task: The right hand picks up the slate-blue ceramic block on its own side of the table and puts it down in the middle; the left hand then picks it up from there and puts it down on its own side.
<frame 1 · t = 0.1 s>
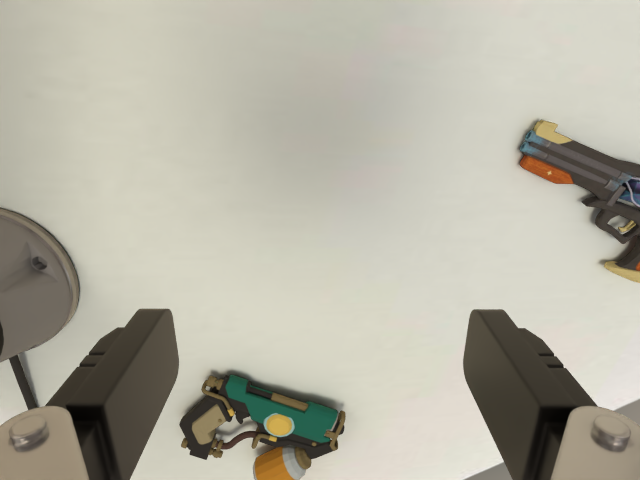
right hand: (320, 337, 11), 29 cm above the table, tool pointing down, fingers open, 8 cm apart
spray gun: (262, 416, 50), on the table
toy gun: (591, 204, 41), on the table
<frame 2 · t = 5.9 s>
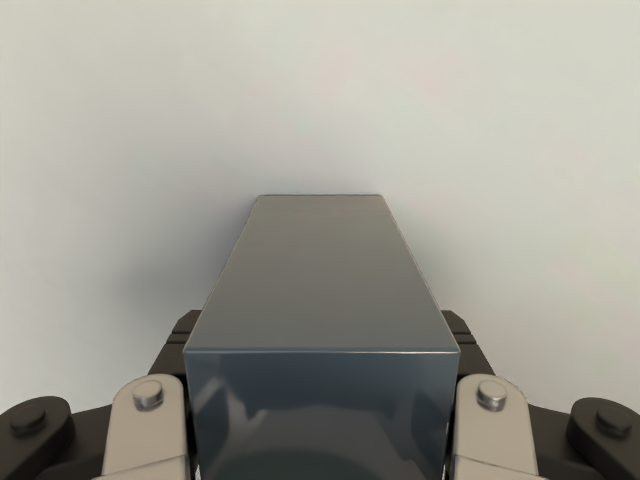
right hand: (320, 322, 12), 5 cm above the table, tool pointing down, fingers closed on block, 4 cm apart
block: (320, 253, 17), on the table, touching right hand
when the right hand's fingers open (7 cm above the table, at t = 13.6 s): block drops 2 cm, on the table.
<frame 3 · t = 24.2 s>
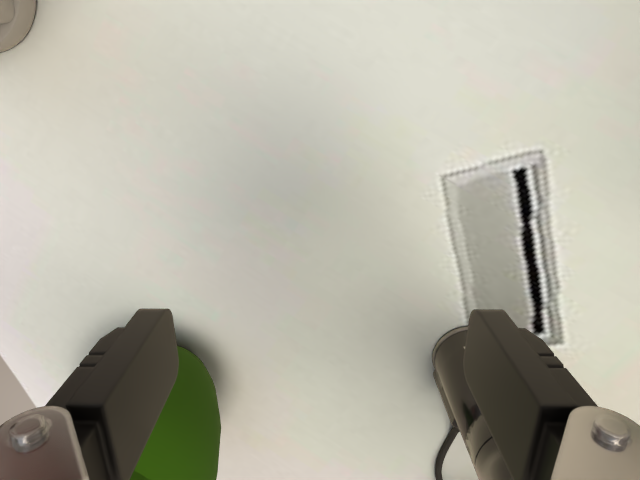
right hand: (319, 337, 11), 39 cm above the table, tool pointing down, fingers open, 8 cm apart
vase: (173, 367, 60), on the table
when the left hand's fingers open (5 cm above the table, at t = 28.6 s): block drops 2 cm, on the table.
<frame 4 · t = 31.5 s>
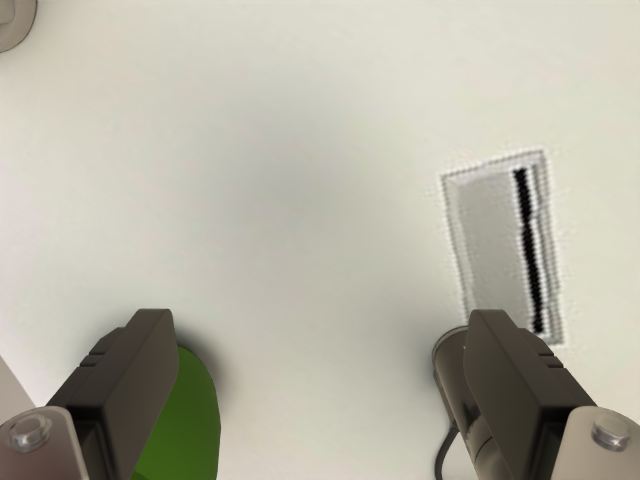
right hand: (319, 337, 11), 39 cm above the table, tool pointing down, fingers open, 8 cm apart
vase: (173, 367, 60), on the table
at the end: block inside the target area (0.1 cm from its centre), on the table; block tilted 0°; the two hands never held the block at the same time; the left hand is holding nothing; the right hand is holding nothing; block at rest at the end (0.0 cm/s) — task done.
